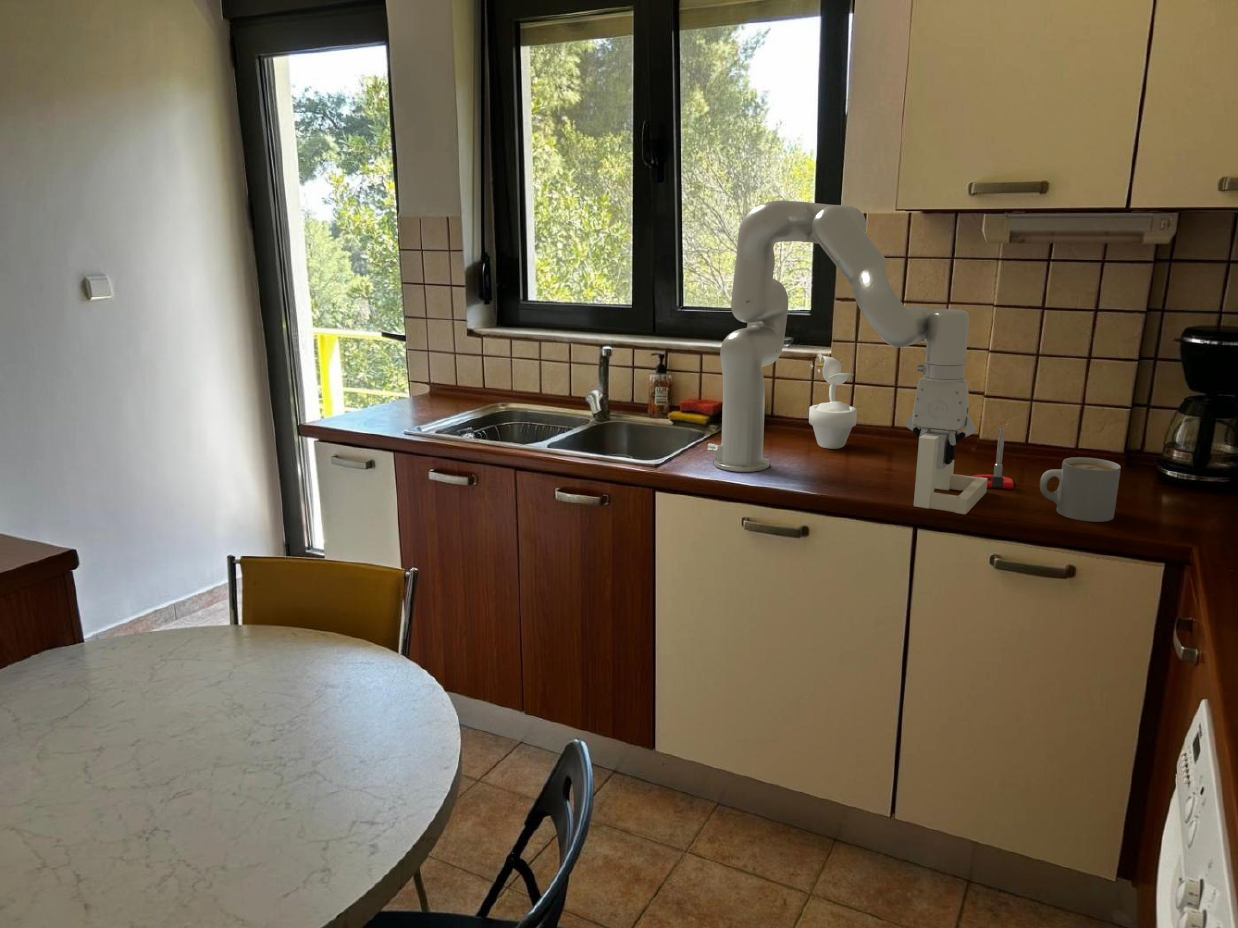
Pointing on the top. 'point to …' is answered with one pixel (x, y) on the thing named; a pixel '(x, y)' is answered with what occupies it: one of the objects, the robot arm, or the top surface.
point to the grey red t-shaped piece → (998, 469)
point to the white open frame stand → (943, 482)
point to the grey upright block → (940, 446)
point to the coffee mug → (1084, 488)
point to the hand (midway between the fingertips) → (937, 460)
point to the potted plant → (832, 409)
